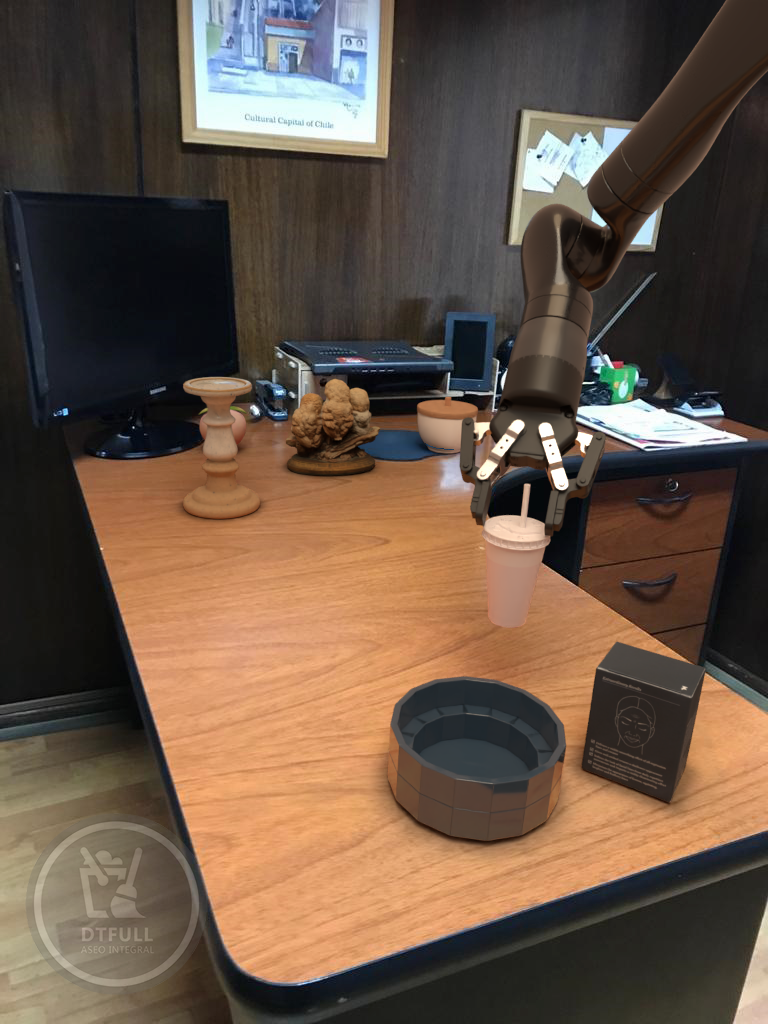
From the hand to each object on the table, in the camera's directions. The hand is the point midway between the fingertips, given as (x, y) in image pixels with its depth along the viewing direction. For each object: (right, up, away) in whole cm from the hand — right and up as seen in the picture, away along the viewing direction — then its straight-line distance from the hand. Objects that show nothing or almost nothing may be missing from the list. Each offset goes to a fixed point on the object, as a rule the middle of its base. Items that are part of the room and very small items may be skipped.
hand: (513, 526), depth 70 cm
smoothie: (0, -9, +5) cm, 11 cm away
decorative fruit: (-44, +13, +85) cm, 96 cm away
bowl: (-4, -22, -5) cm, 23 cm away
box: (+10, -22, -2) cm, 24 cm away
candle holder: (-38, +2, +55) cm, 67 cm away
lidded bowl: (+1, +15, +93) cm, 94 cm away
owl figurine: (-22, +10, +78) cm, 82 cm away
